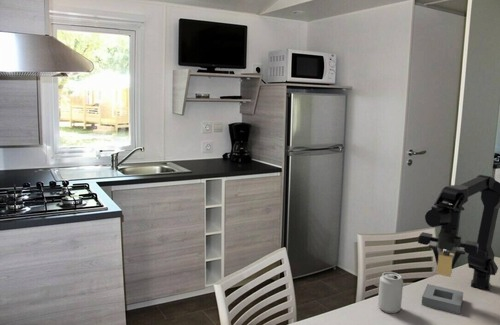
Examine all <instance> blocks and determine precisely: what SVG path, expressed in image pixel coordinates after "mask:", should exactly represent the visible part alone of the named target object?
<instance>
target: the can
mask: <svg viewBox="0 0 500 325" xmlns="http://www.w3.org/2000/svg"><path fill="white" fill-rule="evenodd" d="M381 274H382V275H381V276H380V277H379V286H378V287H379V288H378V297H377V306H378V307H379V308H380V310H382V311H383V312H385V313H387V314H388V313H389V314H395V313H398V312H399V311H400V310H402V299H403V289H404V288H403V287H404V280H403V279H402V278H403V277H402V275H400V274H399V273H397V272H394V271H385V272H383V273H381Z"/></svg>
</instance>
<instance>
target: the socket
mask: <svg viewBox="0 0 500 325" xmlns="http://www.w3.org/2000/svg"><path fill="white" fill-rule="evenodd" d="M463 298H464V291H462V290H461V291H460V290H456V289H451V288H448V287H443V286H439V285H434V284H429V283H427V284H426V286H425V289H424V292H423V294H422V296H421V305H422V306H424V307H428V308H429V307H430V308H432V309H437V310H440V311H441V310H442V311H445V312H449V313H453V314H458V315H460V314H461V309H462V305H463V300H464V299H463Z"/></svg>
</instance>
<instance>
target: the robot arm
mask: <svg viewBox="0 0 500 325" xmlns="http://www.w3.org/2000/svg"><path fill="white" fill-rule="evenodd" d="M477 193H481V194H480V200H481V203H482V205H483V208H482V209H483V210H482V214H481V219H480V224H479V230H478V235H477V240H476V241H470V240H465V242H462V237H461V236H459V229H460V221H461V215H462V214H461V213H462V212H463V211H464V210H465V208H464V206H463V205H464V204H466V203H467V202H468V201H469V198H470V197H471V196H474V195H475V194H477ZM499 209H500V182H499V181H497V180H496V179H495V178H494V177H493V176H490V175H484V174H480V175H477V176H476V177H474V178H472V179H470V180H468V181H466V182H464V183H462V184H451V185H447V186H444V187H443V188H442V190H441V191H440V193H439V194H438V197H437V198H436V200H435V202H434V204H433V206H431V209H430V210H427V212H426V214H425V215H424V219H425V222H426V224H427V225H428V226H429V227H431V228H437V227H440V228H439V233H438V236H437V237H435V236H434V235H433V233H428V232H421V233H420V234H419V236H418V238H417V240H418V241H417V244H420V245H426V246H427V247H428V248H430V249H432V252H433V255H434V258H435V263H436V266H437V265H438V257H439V253H440V250H445V251H449V252H452V251H454V248H455V252H454V258H453V263H452V269H454V267H455V265H456V263H457V261H458V259H459V258H460V256H461V255H465V254H468V255H467V264H468V268H469V269H473V274H472V275H473V276H472V279H471V282H470V287H473V288H477V289H481V290H485V291H491V282H490V281H491V276H496V274H497V272H498V269H499V267H498V265H497V264H496V262H495V253H494V250H493V248H492V244H493V238H494V234H495V230H496V223H497V220H498V219H497V218H498V215H499V211H500V210H499Z"/></svg>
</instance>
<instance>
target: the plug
mask: <svg viewBox="0 0 500 325" xmlns="http://www.w3.org/2000/svg"><path fill="white" fill-rule="evenodd" d="M454 256H455V253H452V252H451V251H449V250H443V251H442V250H439V257H438V265H437V264H436V266H437V268H436V275H441V276H445V277H451V276H452V273H453V268H452V263H453V259H454Z"/></svg>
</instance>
